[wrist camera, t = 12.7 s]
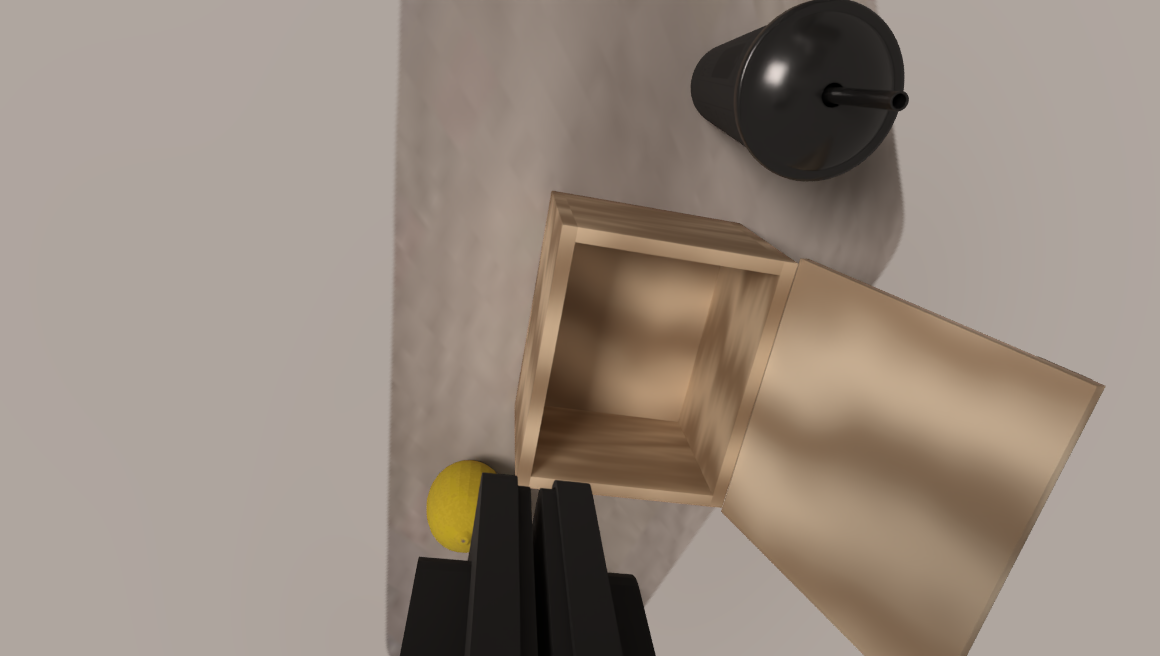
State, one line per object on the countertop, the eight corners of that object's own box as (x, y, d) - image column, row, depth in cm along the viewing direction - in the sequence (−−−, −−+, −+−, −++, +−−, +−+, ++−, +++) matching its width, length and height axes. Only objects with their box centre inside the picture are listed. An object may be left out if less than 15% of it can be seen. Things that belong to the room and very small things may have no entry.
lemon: (521, 465, 51) (523, 534, 43) (476, 514, 52) (471, 588, 44) (462, 427, 49) (454, 491, 42) (418, 478, 50) (402, 549, 43)
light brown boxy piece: (551, 190, 43) (562, 224, 34) (739, 223, 45) (798, 263, 36) (514, 406, 49) (515, 486, 39) (683, 427, 51) (721, 507, 41)
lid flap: (1097, 386, 24) (1106, 385, 24) (800, 258, 36) (809, 259, 36) (927, 719, 29) (937, 714, 30) (721, 511, 42) (729, 509, 42)
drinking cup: (685, 164, 43) (814, 236, 25) (654, 42, 40) (774, 23, 22) (796, 125, 43) (1011, 170, 25) (774, 1, 40) (997, -54, 22)
